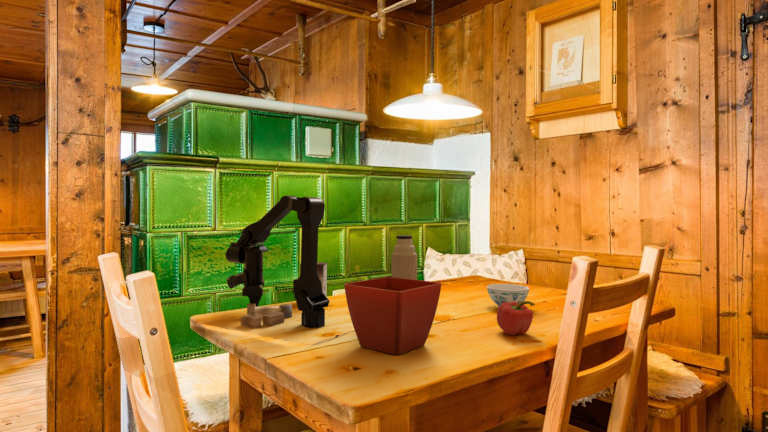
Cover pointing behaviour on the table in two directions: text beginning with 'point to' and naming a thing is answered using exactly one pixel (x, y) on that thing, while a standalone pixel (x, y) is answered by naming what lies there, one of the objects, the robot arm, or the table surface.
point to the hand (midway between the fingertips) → (253, 312)
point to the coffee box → (321, 275)
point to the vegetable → (514, 317)
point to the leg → (269, 310)
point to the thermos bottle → (404, 258)
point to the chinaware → (507, 293)
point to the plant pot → (392, 312)
